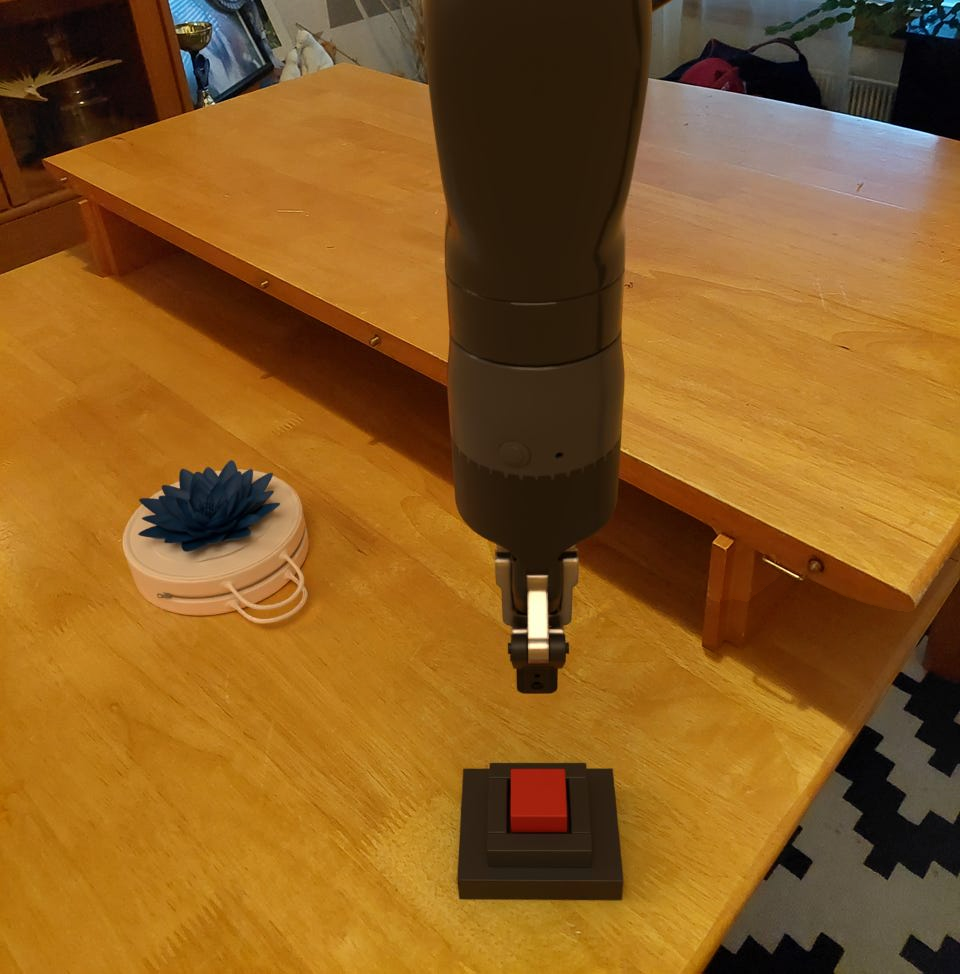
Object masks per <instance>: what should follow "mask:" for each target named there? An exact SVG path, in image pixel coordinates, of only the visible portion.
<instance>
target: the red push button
mask: <svg viewBox="0 0 960 974" xmlns="http://www.w3.org/2000/svg"><path fill="white" fill-rule="evenodd" d="M587 766H588V765H587V763H586V762H489V765H488V768H463V769H462V782H461V783H462V786H461V804H460V823H459V839H458V840H459V841H458V859H457V876H456V877H457V878H456V881H457V891H458V898H459V900H526V901H527V900H529V901H530V900H531V901H532V900H533V901H536V900H537V901H540V900H541V901H542V900H544V901H623V891H624V882H625V880H624V872H623V861H622V860H623V859H622V849H621V839H620V829H619V821H618V820H619V818H618V809H617V799H616V798H617V797H616V788H615V779H614V778H615V777H614V769H613V768H611V767H610V768H607V767H606V768H604V767H603V768H599V767H598V768H597V767H596V768H595V767H593V768H587ZM511 769H565V779H566V800H567V832H512V831H511Z"/></svg>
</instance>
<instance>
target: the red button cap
mask: <svg viewBox="0 0 960 974" xmlns="http://www.w3.org/2000/svg"><path fill="white" fill-rule="evenodd" d="M511 831H512V832H567V800H566V779H565V769H511Z"/></svg>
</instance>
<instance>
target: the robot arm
mask: <svg viewBox="0 0 960 974" xmlns="http://www.w3.org/2000/svg"><path fill="white" fill-rule="evenodd" d="M672 1H673V0H423V2H422V21H423V24H422V25H423V26H422V27H423V41H424V54H425V65H426V75H427V84H428V94H429V101H430V109H431V118H432V127H433V132H434V140H435V146H436V147H435V148H436V154H437V160H438V167H439V174H440V179H441V186H442V192H443V196H444V201H445V206H446V207H445V208H446V212H445V220H444V238H443V239H444V240H443V247H444V250H443V251H444V254H443V255H444V275H445V288H446V303H447V304H446V305H447V319H448V327H449V329H448V353H447V355H448V356H447V365H446V388H447V389H446V390H447V405H448V417H449V433H450V447H451V459H452V474H453V488H454V489H453V490H454V501H455V507H456V510H457V511H458V514H459V515H460V517H461V519H462V521H463V522H464V523H465V525H466V526H468V528H469V529H470V530H472V531H473V532H474V533H475V534H477V535H478V536H480V537H481V538H483V539H485V540H486V541H489V542H490V543H493V544H496V549H495V550H494V576H495V584H496V586H497V587H498V588H499V589H500V592H501V616H502V622H503V624H505V625H506V626H509V627H511V633H510V642H507V655H509V662H511V666H512V669H513V670H516V671H515V672H516V690H517V691H518V692H519V693H521V694H524V695H550V694H554V693H556V692H557V690H558V689H559V687H558V686H559V684H558V683H559V669H560V670H561V669H563V668H564V666H565V664H566V662H567V655H570V643H569V641H568V642H567V641H566V639H567V638H566V634H565V626H567V625H569V624H570V623H571V622H572V620H573V594H574V593H573V591H574V588H575V587H576V586H577V585H578V583H579V569H580V560H579V559H580V557H579V556H580V555H579V548H576V546H577V545H578V544H579V543H581V542H584V541H585V540H587V539H589V538H591V537H593V536H594V535H596V534H597V533H598V532H599V531H601V530H602V529H603V528H604V527H605V526H606V525H607V523H609V522H610V520H611V518H612V516H613V515H614V512H616V511H615V510H616V507H617V504H618V498H619V497H618V496H619V479H620V467H621V466H620V465H621V450H622V448H621V447H622V434H623V433H622V432H623V431H622V430H623V418H624V417H623V415H624V402H625V401H624V400H625V386H626V385H625V383H626V380H625V379H626V376H625V375H626V373H625V359H624V350H623V339H622V335H623V330H622V329H623V328H622V327H623V312H624V311H623V309H624V292H625V291H624V290H625V274H626V257H627V256H626V255H627V254H626V253H627V251H626V250H627V241H626V239H627V237H626V209H627V204H628V200H629V196H630V191H631V186H632V181H633V176H634V172H635V165H636V160H637V156H638V149H639V144H640V138H641V134H642V133H641V132H642V126H643V120H644V115H645V114H644V113H645V107H646V101H647V92H648V85H649V75H650V66H651V53H652V36H653V14H654V13H656V12H657V11H658V10H660V9H662V8H663V7H665V6H667V5H668V4H670V3H671V2H672Z"/></svg>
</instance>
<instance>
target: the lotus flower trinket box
mask: <svg viewBox="0 0 960 974" xmlns="http://www.w3.org/2000/svg"><path fill="white" fill-rule="evenodd" d="M138 501H139V503H140V505H139V507H138V508H137V509H136V510H135V511H134V513H133V514H132V515H131V517H130V518H129V519H128V521H127V524H126V525H125V528H124V530H123V534H122V542H121V543H122V549H123V554H124V557H125V559H126V562H127V564H128V567H129V570H130V572H131V575H132V579H133V580H134V583H135V586H136V588H137V590H138V592H139V593H140V595H141V596H142V597H143V598H144V599H145V600H146V601H148V602H149V603H150V604H152V605H153V606H155V607H157V608H158V609H161V610H164V611H166V612H170V613H174V614H178V615H185V616H195V617H196V616H197V617H199V616H200V617H201V616H202V617H203V616H214V615H221V614H222V615H223V614H227V613H231V612H235V611H237V612H238V613H239V614H240V615H241V616H242V617H244V618H245V619H246V620H248V621H250V622H252V623H254V624H259V625H261V624H262V625H266V624H273V623H278V622H280V621H284V620H286V619H288V618H291V617H292V616H293V615H295V614H296V613H298V612H299V611H300V610H301V609H302V608H303V607H304V605H305V604H306V602H307V601H308V598H309V597H308V596H309V593H308V590H307V588H306V586H305V577H304V573H303V571H302V570H301V568H302V566H303V564H304V562H305V560H306V558H307V555H308V552H309V547H310V546H309V545H310V540H309V533H308V528H307V524H306V519H305V518H306V517H305V514H304V509H303V504H302V500H301V498H300V496H299V495H298V493H297V491H296V490H295V489H294V488H293V486H291V485H290V484H289V483H287V482H286V481H284V480H283V479H281V478H279V477H278V476H275V475H274V472H272V471H271V472H268V473H267V472H263V471H259V470H254V469H252V468H249V469H241V468H240V469H239V468H238V467H237V464H236V462H235V461H234V460H233V459H230V460H229V461H227V462H226V464H225V465H224V466H223V468H222V469H220V470H219V469H218V470H214V469H213V468H212V467H210V466H206V467H205V469H204V470H203V472H200V471H195V472H194V473H193V472H192V471H190V470H188V469H187V468H181V469H180V470H179V475H178V481H176V482H173V483H171V484H170V485H168V484H162V485H161V490H159V491H157V492H155V493H154V494H153V495H151V496H150V497H142V498H139V499H138ZM296 574H297V575H298V578H297V577H296V576H295V575H296ZM290 581H292V582H294V583H295V584H296V585H297V588H296V590H295V591H294V592H293V593H292V594H291V595H290V596H289V597H288V598H286V599H285V600H283V601H280V602H277V603H274V604H273V603H272V604H265V605H264V604H258V603H260V602H261V601H263V600H265V599H267V598H269V597H271V596H272V595H274V594H275V593H276V592H278V591H279V590H281V589H282V588H283V587H284V586H286V585H287V584H288V583H289V582H290ZM301 592H302V597H301V600H300V602H299V603H298V604H297V605H296V606H295V607H294V608H292V610H290V611H288V612H286V613H284V614H282V615H278V616H276V617H269V618H258V617H254V616H252V615H250V614H249V613H247V612H246V611H244V610H243V609H245V608H247V607H248V608H250V609H253V610H257V611H270V610H272V611H273V610H276V609H280V608H282V607H284V606H287V605H289V604H290V603H291V602H293V601H294V600H295V599H296V598H297V597H298V596H299V595H300V594H301Z"/></svg>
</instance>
